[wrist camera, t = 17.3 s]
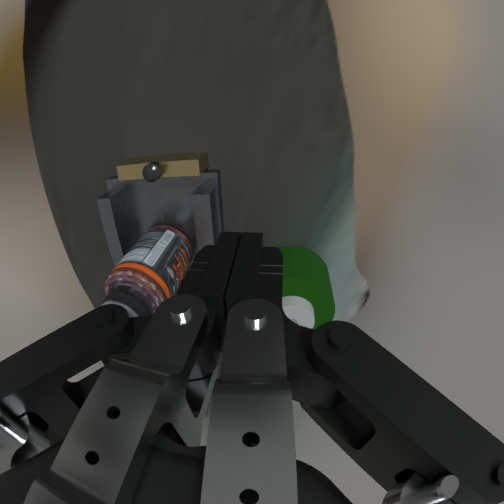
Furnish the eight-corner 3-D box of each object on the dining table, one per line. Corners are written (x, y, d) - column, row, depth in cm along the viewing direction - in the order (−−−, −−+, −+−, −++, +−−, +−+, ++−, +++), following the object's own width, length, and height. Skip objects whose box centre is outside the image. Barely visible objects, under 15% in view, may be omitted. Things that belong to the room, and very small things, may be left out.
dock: (110, 176, 26) (92, 187, 23) (219, 169, 25) (210, 180, 22) (136, 283, 34) (125, 301, 31) (228, 290, 32) (223, 311, 29)
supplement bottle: (198, 272, 30) (164, 353, 21) (149, 269, 31) (104, 342, 21) (191, 222, 27) (144, 296, 18) (138, 222, 28) (78, 288, 18)
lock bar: (131, 157, 25) (110, 168, 22) (207, 151, 24) (194, 161, 21) (133, 172, 26) (113, 185, 23) (208, 168, 25) (196, 180, 22)
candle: (249, 301, 33) (237, 370, 24) (258, 240, 29) (246, 306, 20) (318, 310, 33) (324, 380, 24) (337, 252, 28) (355, 320, 20)
